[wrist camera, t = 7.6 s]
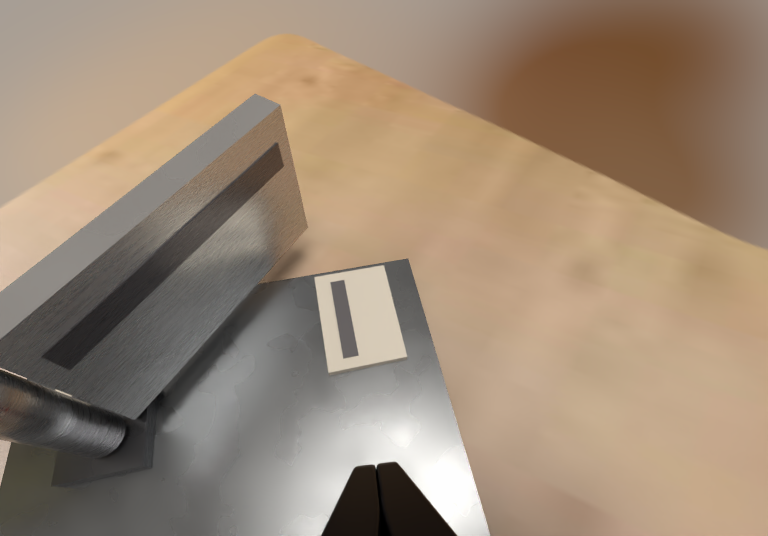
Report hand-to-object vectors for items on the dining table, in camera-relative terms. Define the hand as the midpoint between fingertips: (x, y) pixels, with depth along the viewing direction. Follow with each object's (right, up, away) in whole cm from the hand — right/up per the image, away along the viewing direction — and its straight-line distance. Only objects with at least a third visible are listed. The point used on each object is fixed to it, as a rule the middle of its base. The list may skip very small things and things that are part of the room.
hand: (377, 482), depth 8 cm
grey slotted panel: (-8, +2, +10) cm, 13 cm away
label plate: (-1, +2, +12) cm, 12 cm away
